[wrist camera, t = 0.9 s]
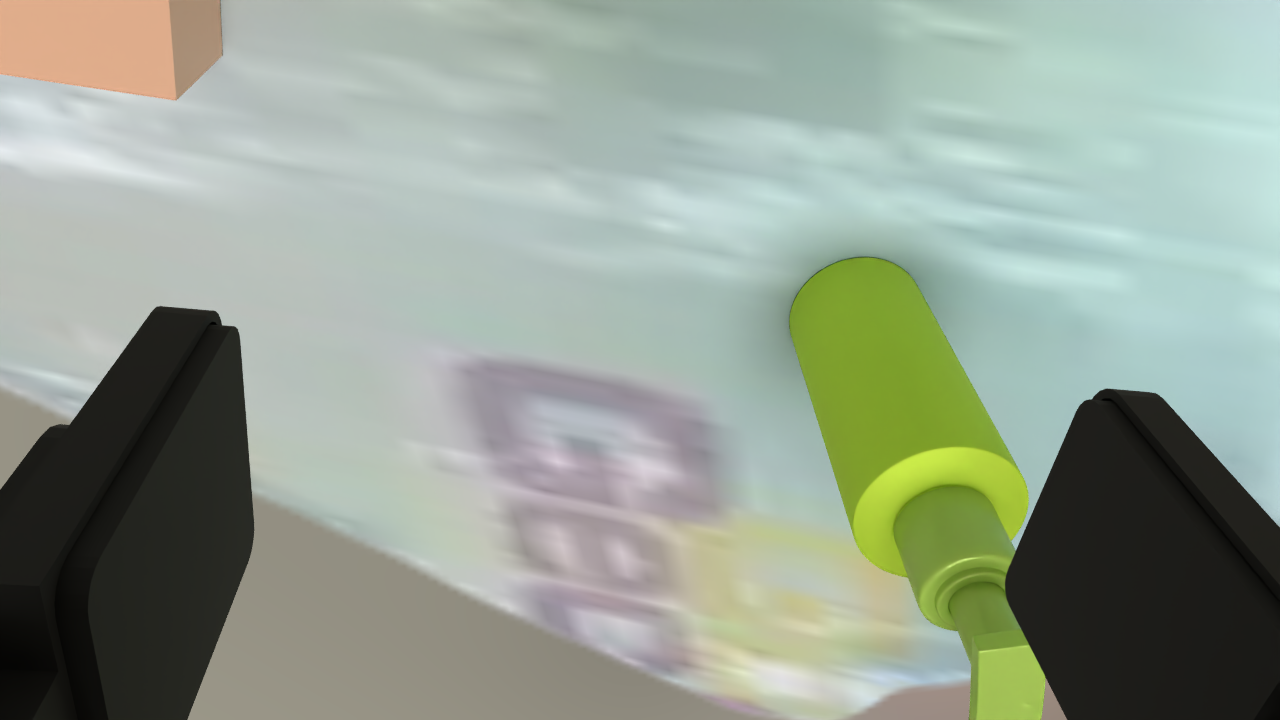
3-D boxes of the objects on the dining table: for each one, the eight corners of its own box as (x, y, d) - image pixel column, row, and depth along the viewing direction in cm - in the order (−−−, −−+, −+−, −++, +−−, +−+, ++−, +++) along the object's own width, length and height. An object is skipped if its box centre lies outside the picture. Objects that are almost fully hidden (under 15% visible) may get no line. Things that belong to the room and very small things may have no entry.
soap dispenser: (794, 397, 47) (905, 784, 30) (785, 267, 43) (907, 626, 27) (920, 380, 47) (1103, 760, 30) (922, 247, 43) (1133, 598, 26)
